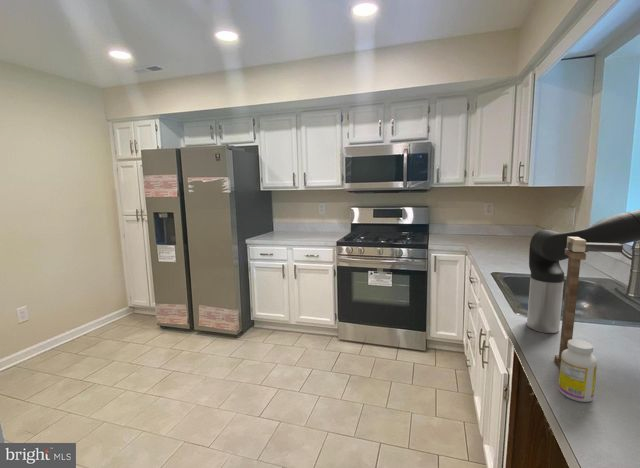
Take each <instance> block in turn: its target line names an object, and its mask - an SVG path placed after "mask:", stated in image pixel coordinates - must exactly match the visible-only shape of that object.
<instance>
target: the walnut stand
mask: <svg viewBox="0 0 640 468" xmlns="http://www.w3.org/2000/svg"><path fill="white" fill-rule="evenodd" d="M565 255H567V256H569V258H568V260H567V261H568V262H567V270H566V271H567V272H566V278H565V290H564V299H563V309H562V319H561V320H562V321H561V329H560V330H561V331H560V340H559V351H558V354H554V361H555V362H556V364H557V366H558V367H559V368H560V365H561V354H562V352H563V351H564V350H566V349H568V346H567V344H568V340H571V339H573V336H574V335H573V334H574V329H575V327H574V326H575V318H576V317H575V316H576V306H577V299H578V298H577V296H578V288H579V278H580V271H581V270H580V268H581V260H583V261H585V260H586V259H587V253H586V252H585V253H583V252H573V251H571V250H569V249H565Z"/></svg>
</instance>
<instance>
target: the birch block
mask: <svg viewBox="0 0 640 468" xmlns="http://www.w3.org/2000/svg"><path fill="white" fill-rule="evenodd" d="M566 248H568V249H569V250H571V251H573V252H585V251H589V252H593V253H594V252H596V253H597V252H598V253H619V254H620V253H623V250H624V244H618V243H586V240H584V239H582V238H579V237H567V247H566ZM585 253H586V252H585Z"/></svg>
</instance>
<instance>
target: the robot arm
mask: <svg viewBox="0 0 640 468" xmlns="http://www.w3.org/2000/svg"><path fill="white" fill-rule="evenodd" d="M567 237H579V238H582V239H584V240H586V243H618V244H621V245H626V244H630V243H634V242H638V241H640V209H635V210H631V211H627V212H622V213H618V214H615V215H611V216H608V217H604V218H602V219H600V220H598V221H596V222H595V223H593V224H592V225H590V226H588V227H585V228H582V229H578V230H574V231H573V230H572V231H567V232H557V231H554V230H550V229H541V230H538V231H537V232H535V233H534V234H533V235H532V237H531V239H530V241H529V242H530V243H529V251H528V254H529V255H528V266H529V271H530V277H529V280H530V281H529V294H528V305H527V317H526V326H527V327H528V328H529V329H532V330H534V331H535V332H539V333H544V334H556V333H559V331H560V324H561V315H562V306H563V305H562V304H563V294H564V283H565V271H563V268H562V267H561V265H560V261H565V260H567V259H568V258H569V256H567V255H565V249H568V248H566V247H567ZM588 252H590V251H585V252H583V253H585V254H586V253H588Z"/></svg>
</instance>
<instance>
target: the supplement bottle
mask: <svg viewBox="0 0 640 468" xmlns="http://www.w3.org/2000/svg"><path fill="white" fill-rule="evenodd" d="M567 346H568V349H566V350H564V351H563V352H562V354H561V365H560V367H559V376H558V377H559V378H558V390H559V392H560V393H561V394H562V395H563V396H564V397H566V398H568V399H570V400H573V401H577V402H583V403H584V402H585V403H587V402H590V401H593V399H594V396H595V388H596V387H595V385H596V376H597V369H598V368H597V367H598V360H597V358H596V357H595V355H593V354H592V353H593V352H594V346H593V344H591V343H589V342H588V341H585V340H582V339H577V338H576V339H575V338H572V339H571V340H568V344H567Z"/></svg>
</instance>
